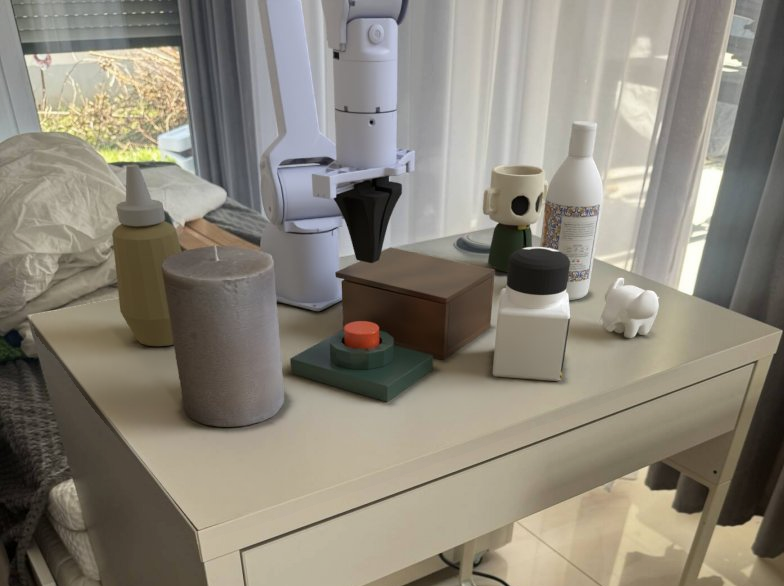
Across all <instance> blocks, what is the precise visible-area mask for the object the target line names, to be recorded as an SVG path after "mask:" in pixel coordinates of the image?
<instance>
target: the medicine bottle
mask: <svg viewBox="0 0 784 586" xmlns="http://www.w3.org/2000/svg"><path fill="white" fill-rule="evenodd" d="M569 267H570V260H569V258H568V257H567V256H566V255H565V254H563V253H562V252H560V251H558V250H555V249H551V248H546V247H540V246H532V247H527V248H523V249H520V250H518V251H515V252H514V253H512V255H511V256H510V257H509V264H508V272H507V275H506V287H504V288H501V290H500V294H499V301H498V309H497V319H496V331H495V343H494V353H493V364H492V375H493V376H494V377H498V378H499V377H501V378H512V379H524V380H537V381H552V382H559V381H561V379H562V376H563V369H564V363H565V356H566V348H567V343H568V337H569V328H570V323H571V322H570V321H571V309H570V300H569V297H568V293H567V292H566V288H567V281H568V274H569Z"/></svg>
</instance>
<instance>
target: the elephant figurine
mask: <svg viewBox="0 0 784 586" xmlns="http://www.w3.org/2000/svg"><path fill="white" fill-rule="evenodd" d="M624 284H625V278H623V277H618V278H616V279H615V280H614V281H613V282H612V283H611V284H610V285H609V286H608V288H607V289H606V291H605V294H604V302H605V305H604V307H603V310H602V312H601V315H600V317H599V319H598V321H601V320H602V324H603V327H604V329H605V330H606V331H607V332H613V331H614V332H615V333H617V334H622V333H623V336H624V337H625V338H627V339H633V338H635V337H636V335H637V334H638V335H641V336H646V335H648V334H649V332H650V330H651V328H652V327H653V324H654V322H655V320H656V318H657V315H658V312H659V308H660V307H659V305H660V304H659V299H660V297H659V296H658V295H657V293H656V292H655V291H653V290H650V289H647V290H645V289H643V288H641V287H638V286H636V285H632V284H628V285H624Z"/></svg>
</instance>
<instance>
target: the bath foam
mask: <svg viewBox="0 0 784 586" xmlns="http://www.w3.org/2000/svg"><path fill="white" fill-rule="evenodd" d="M597 130H598V123H597V122H595V121H589V120H576V121H572V123H571V132H570V138H569V145H568V152H567V153H568V155H567V156H566V158H565V159H564V160H563V162H562V163H561V165H560V166H559V167H558V168H557V170H556V172H555V173H554V175H552V178H551V180H550V183H549V184H548V191H547V195H546V201H545V204H544V210H543V218H542V219H543V220H542V225H541V226H542V227H541V234H540V235H541V236H540V244H539V247H546V248H551V249H555V250H558V251H560V252H562V253H563V254H565V255H566V256H567V257H568V258H569V260H570V267H569V274H568V281H567V288H566V292H567V293H568V297H569V301H575V300H579V299H583V298H584V297H585V296H587V295H588V293H589V290H590V285H591V278H592V271H593V266H594V265H593V264H594V259H595V253H596V246H597V241H598V235H599V228H600V221H601V216H602V209H603V203H604V202H603V201H604V186H603V181H602V177H601V174H600V172H599V170H598V167H597V164H596V162H595V160H594V151H595V145H596V144H595V143H596V137H597Z"/></svg>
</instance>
